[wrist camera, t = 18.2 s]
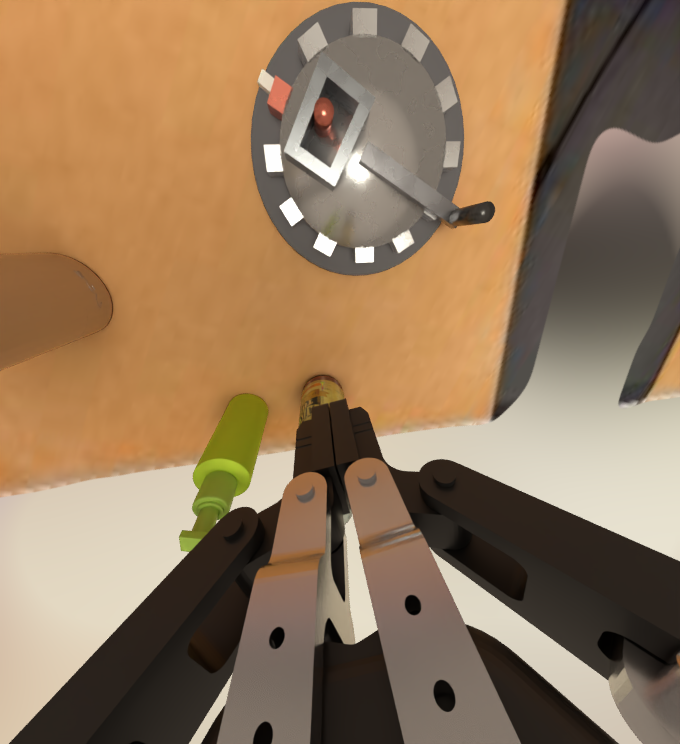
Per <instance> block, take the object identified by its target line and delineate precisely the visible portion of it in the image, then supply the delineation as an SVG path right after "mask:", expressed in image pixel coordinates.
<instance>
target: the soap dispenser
mask: <svg viewBox="0 0 680 744" xmlns="http://www.w3.org/2000/svg"><path fill="white" fill-rule="evenodd" d="M267 416H268V407H267V405H266V403H265V402H264V401H263V400H262V399H261V398H260V397H258V396H256V395H253V394H241V395H238V396H236V397H234V398H233V399H232V400H231V401H230V403H229V405H228V406H227V408H226V410H225V412H224V414H223V416H222V418H221V420H220V422H219V424H218V426H217V428H216V430H215V432H214V433H213V435H212V437H211V439H210V441H209V443H208V445H207V447H206V449H205V451H204V453H203V455H202V457H201V459H200V460H199V462H198V464H197V466H196V468H195V470H194V473H193V481H194V484H195V485H196V487H197V488H198V489H199V492H198V494H197V496H196V498H195V500H194V503H193V506H192V510H193V512H194V514H195V515H196V516H198V517H197V520H196V522H195V524H194V527H193V529H192V531H185V530H182V532H181V534H180V536H179V540H180V547H181V551H187V552H190V551H191V550H192V549H193V548H194V547H195V546H196V545H197V544H198V543H199V542H200V541H201V540H202V538H203V537H204V536H205V535H206V534H207V533H208V532H209V531H210V530H211V529H212V528H213V527H214V526H215V524H216V521H217V520H219V519H222V518H223V517H224V516H225V515H226V514H227V513H229V511H230V507H231V504H232V501H233V498H234V497H235V496H238V495H240V494H242V493H243V492H245V491H246V490H247V488H248V487H249V485H250V482H251V478H252V474H253V470H254V466H255V463H256V459H257V455H258V451H259V447H260V443H261V439H262V435H263V431H264V427H265V423H266V420H267Z"/></svg>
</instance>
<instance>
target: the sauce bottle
mask: <svg viewBox="0 0 680 744" xmlns="http://www.w3.org/2000/svg"><path fill="white" fill-rule="evenodd" d="M341 399H345V398H344V393H343V391H342V387H341V385H340V384H339V383H338V382H337V381H336V380H335V379H334V378H331V377H329V376H317V377H315V378H313V379H311V380H310V381H309V382H308V383H307V384H306V385H305V386H304V389H303V392H302V395H301V406H300V417H299V426H300V424H301V423H302V421H306V420H310V419H311V408H312V407H314V406H318V405H322V404H326V403H330V402H333V401H337V400H341ZM329 406H330V405H329ZM349 508H350V505H349ZM351 516H352V511H351V508H350V513H349V514H345V515H343V518H344V525H345V524H346V523H347V522H348V521H349V519H350V518H351Z"/></svg>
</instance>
